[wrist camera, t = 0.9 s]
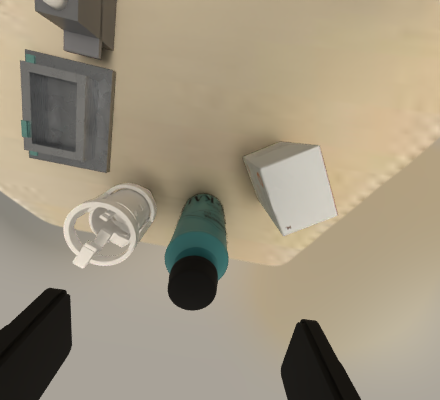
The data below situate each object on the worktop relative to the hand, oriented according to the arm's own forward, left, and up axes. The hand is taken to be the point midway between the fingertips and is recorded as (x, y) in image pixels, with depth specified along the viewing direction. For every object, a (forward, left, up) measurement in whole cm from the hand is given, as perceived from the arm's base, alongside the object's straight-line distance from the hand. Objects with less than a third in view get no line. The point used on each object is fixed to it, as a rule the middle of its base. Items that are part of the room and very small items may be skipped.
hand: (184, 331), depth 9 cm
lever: (-19, -18, -27) cm, 37 cm away
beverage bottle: (+4, 0, -27) cm, 27 cm away
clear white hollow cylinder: (+4, -10, -27) cm, 29 cm away
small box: (-4, +9, -27) cm, 29 cm away
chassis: (-6, -21, -27) cm, 34 cm away
